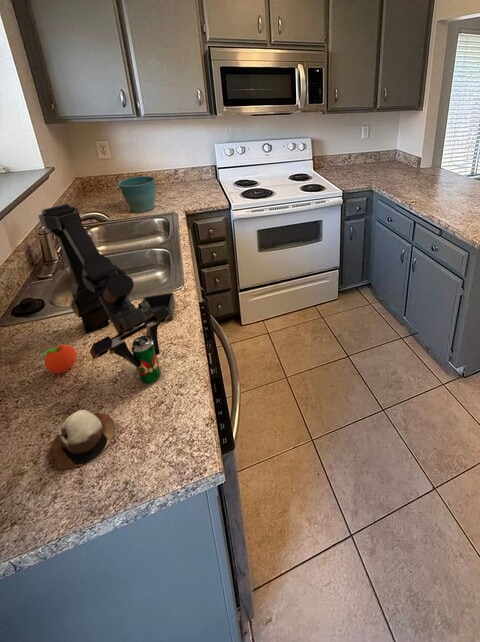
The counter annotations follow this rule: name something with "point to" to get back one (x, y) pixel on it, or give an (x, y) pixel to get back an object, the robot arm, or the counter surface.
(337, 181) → the counter surface
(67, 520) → the counter surface
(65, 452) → the hat
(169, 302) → the waste bin
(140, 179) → the flower pot
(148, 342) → the soda can
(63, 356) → the clementine
